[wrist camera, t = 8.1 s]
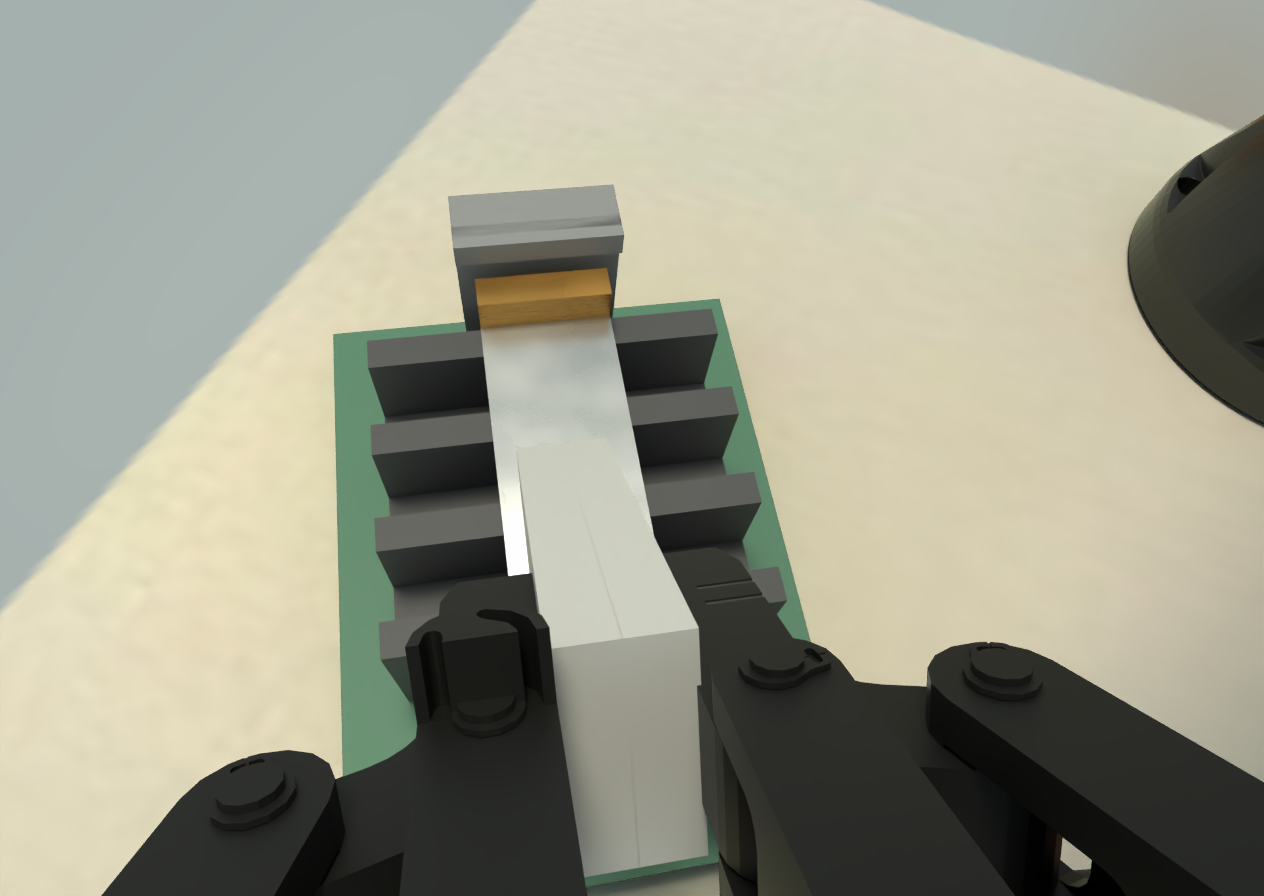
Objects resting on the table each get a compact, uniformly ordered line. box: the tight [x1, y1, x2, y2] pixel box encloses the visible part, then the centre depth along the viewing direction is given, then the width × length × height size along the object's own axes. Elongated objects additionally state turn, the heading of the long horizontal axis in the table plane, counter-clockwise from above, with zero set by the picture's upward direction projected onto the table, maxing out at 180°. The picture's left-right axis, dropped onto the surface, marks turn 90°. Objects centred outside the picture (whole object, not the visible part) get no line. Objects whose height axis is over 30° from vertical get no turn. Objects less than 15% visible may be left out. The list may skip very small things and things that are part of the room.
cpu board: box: [333, 185, 811, 887], centre depth 27 cm, size 15×20×10 cm
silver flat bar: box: [475, 268, 654, 576], centre depth 24 cm, size 4×15×2 cm, turn 10°
